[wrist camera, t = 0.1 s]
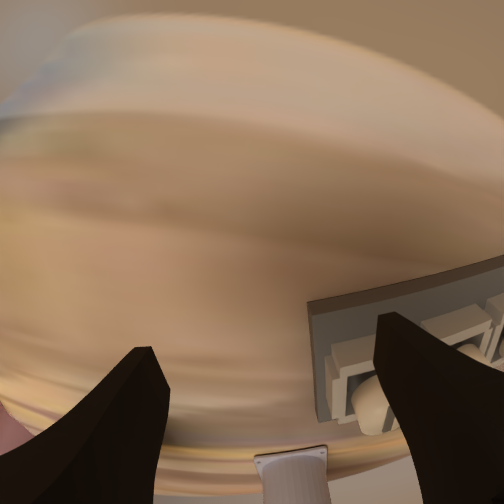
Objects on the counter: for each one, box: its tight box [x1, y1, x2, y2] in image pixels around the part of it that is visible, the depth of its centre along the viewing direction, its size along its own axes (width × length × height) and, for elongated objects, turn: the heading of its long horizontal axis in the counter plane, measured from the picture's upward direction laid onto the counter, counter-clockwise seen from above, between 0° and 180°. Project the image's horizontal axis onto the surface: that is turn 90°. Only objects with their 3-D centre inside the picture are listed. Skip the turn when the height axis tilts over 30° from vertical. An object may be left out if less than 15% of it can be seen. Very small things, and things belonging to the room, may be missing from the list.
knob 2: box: [456, 344, 493, 368], centre depth 17 cm, size 4×4×3 cm
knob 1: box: [351, 375, 400, 436], centre depth 17 cm, size 4×4×3 cm
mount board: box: [307, 255, 504, 425], centre depth 20 cm, size 12×22×4 cm, turn 100°
